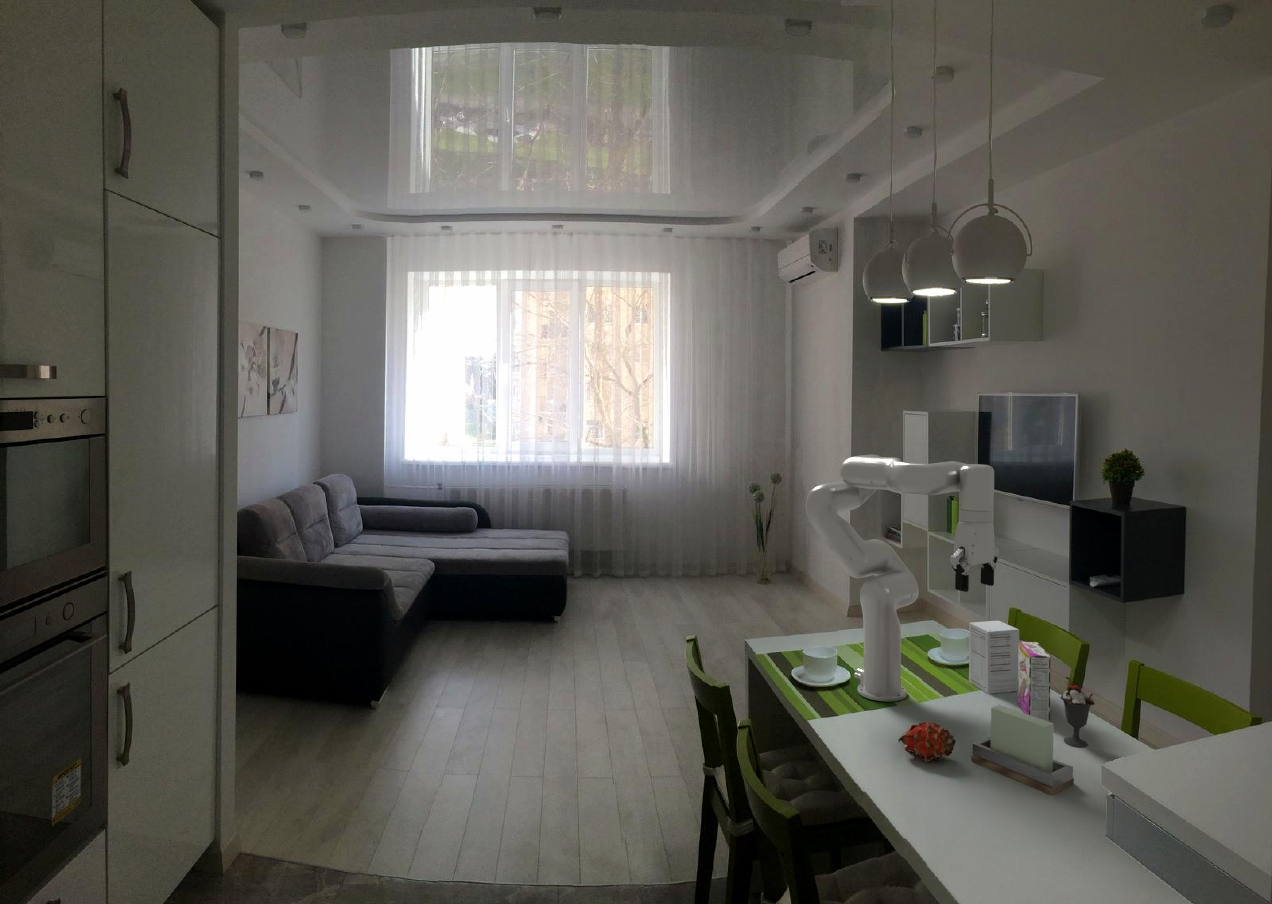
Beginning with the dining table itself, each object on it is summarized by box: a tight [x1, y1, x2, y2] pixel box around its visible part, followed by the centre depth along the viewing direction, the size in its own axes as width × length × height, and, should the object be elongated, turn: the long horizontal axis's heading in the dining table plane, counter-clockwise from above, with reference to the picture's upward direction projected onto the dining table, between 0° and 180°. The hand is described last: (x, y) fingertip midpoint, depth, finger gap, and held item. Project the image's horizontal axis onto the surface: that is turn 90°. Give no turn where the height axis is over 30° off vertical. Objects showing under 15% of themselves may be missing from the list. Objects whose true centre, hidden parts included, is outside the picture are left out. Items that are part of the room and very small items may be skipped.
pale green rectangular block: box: [990, 704, 1055, 773], centre depth 168 cm, size 12×3×11 cm, turn 33°
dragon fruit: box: [897, 721, 957, 762], centre depth 176 cm, size 8×8×12 cm
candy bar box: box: [1017, 641, 1052, 722], centre depth 198 cm, size 11×5×16 cm, turn 168°
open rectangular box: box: [970, 735, 1075, 796], centre depth 169 cm, size 18×8×4 cm, turn 33°
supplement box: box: [968, 620, 1020, 694], centre depth 216 cm, size 10×9×17 cm
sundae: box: [1059, 676, 1095, 748], centre depth 181 cm, size 7×7×15 cm
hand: (974, 587), depth 191 cm, fingers open, 9 cm apart
